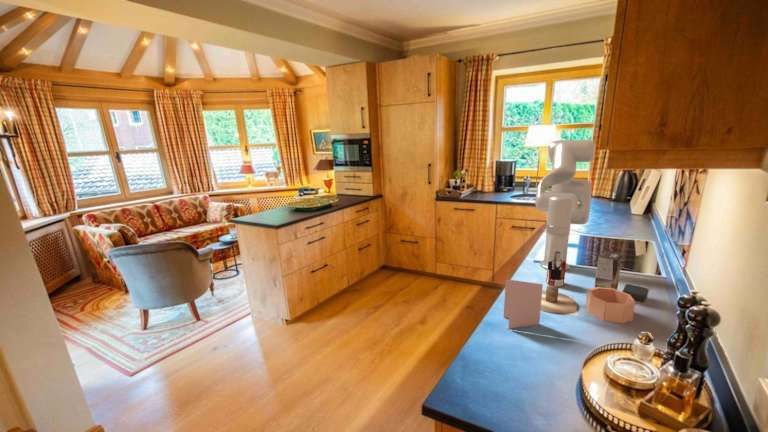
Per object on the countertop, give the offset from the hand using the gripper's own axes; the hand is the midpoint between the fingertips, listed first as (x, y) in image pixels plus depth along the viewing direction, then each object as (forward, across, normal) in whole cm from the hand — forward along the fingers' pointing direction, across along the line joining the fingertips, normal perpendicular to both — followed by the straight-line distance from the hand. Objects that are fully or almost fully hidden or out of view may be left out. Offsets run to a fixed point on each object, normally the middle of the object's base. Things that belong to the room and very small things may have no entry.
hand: (553, 274), depth 122 cm
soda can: (+12, -19, +3) cm, 22 cm away
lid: (+12, -1, 0) cm, 12 cm away
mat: (+12, -1, 0) cm, 12 cm away
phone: (+12, -20, +32) cm, 39 cm away
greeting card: (+13, +19, -11) cm, 25 cm away
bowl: (+12, +1, +18) cm, 22 cm away
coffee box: (+12, -17, +21) cm, 29 cm away
